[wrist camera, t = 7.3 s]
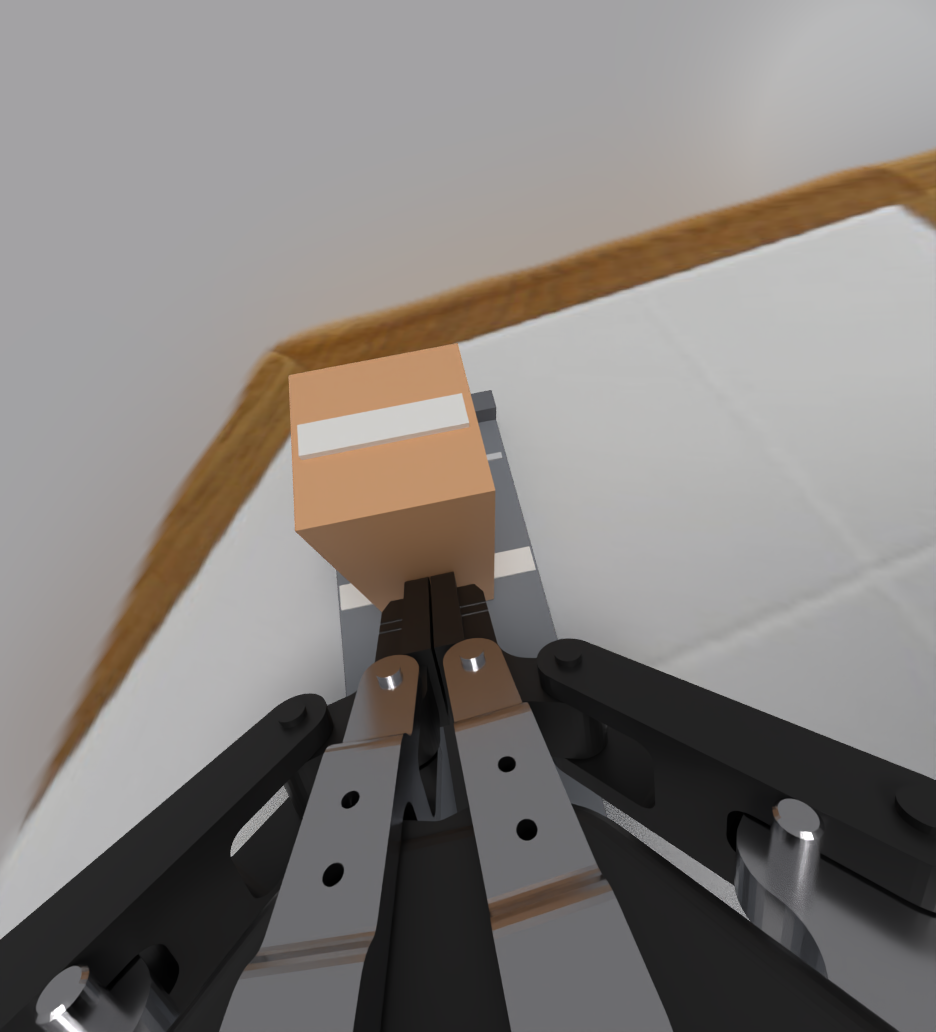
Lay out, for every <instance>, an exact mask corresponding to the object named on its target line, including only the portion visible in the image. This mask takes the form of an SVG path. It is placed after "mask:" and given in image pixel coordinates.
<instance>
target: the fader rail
mask: <svg viewBox="0 0 936 1032" xmlns="http://www.w3.org/2000/svg"><path fill="white" fill-rule="evenodd" d="M471 397H472V401H473V405H474V409H475V413H476V417H477V421H478V425H479V429H480V432H481V436H482V440H483V444H484V448H485V452H486V456H487V460H488V463H489V467H490V471H491V475H492V479H493V483H494V487H495V557H494V599H492V600H487V601H486V603H487V607H488V611H489V614H490V618H491V622H492V625H493V629H494V633H495V636H496V640H497V643H498V645H499V647H500V648H501V649H502V650H503V651H505V652H506V653H508V654H510V655H513V656H517V657H524V658H537V655H538V653H539V651H540V650H541V649H542V648H543V647H544V646H545V645H547V644H549V643H550V642H553V641H556V640H558V639H557V636H556V632H555V629H554V625H553V622H552V618H551V614H550V611H549V607H548V604H547V600H546V596H545V593H544V589H543V586H542V582H541V579H540V575H539V571H538V568H537V564H536V561H535V557H534V554H533V550H532V546H531V543H530V539H529V536H528V532H527V529H526V525H525V521H524V518H523V514H522V511H521V507H520V504H519V500H518V496H517V493H516V489H515V486H514V482H513V478H512V475H511V471H510V468H509V464H508V461H507V457H506V453H505V450H504V446H503V443H502V439H501V436H500V432H499V428H498V425H497V421H496V405H495V401H494V398H493V394H492V391H491V390H489V391H484V392H479V393H474V394H471ZM336 572H337V585H338V597H339V610H340V622H341V635H342V647H343V660H344V672H345V685H346V697H347V696H349V695H351V694H353V693H354V692H356V691H357V690H358V686H359V683H360V679H361V677H362V675H363V673H364V672H365V671H366V669H367V668H368V667H370V666H371V665H372V664H373V663H375V657H376V650H377V643H378V636H379V629H380V625H381V624H380V622H381V615H382V612H381V611H380V610H379V609H378V608H377V607H376V606H375V605H374V604H372V603H371V602H370V601H369V600H368V599H367V598H366V597H365V596H364V595H363V594H362V593H361V592H360V591H359V590H358V589H356V588H355V587H354V586H353V585H352V584H351V583H350V582H349V581H348V580H347V579H346V578H345V577H344V576H343V575H341V574H340V573H339V572H338V571H337V570H336ZM448 707H449V705H448ZM449 719H450V725H447V726H443V727H440V747H441V751H442V787H441V820H443V819H446V818H448V817H450V816H452V815H454V814H455V813H457V812H459V811H461V810H463V809H465V808H467V807H469V801H468V796H467V791H466V786H465V781H464V775H463V770H462V765H461V760H460V755H459V749H458V744H457V739H456V734H455V728H454V724H453V722H452V718H451V714H450V709H449ZM554 765H555V764H554ZM555 767H556V769H557V772H558V774H559V776H560V779H561V781H562V783H563V786H564V788H565V791H566V793H567V795H568V798H569V800H570V802H571V803H572V804H576V805H579V806H583V807H586V808H588V809H591V810H593V811H595V812H598V813H600V814H602V815H603V816H605V817H607V815H606V811H605V807H604V804H603V800H602V798H601V797H600V796H598V795H597V794H595V793H594V792H592V791H591V790H589V789H588V788H586V787H585V786H583V785H582V784H580V783H579V782H577V781H576V780H574V779H573V778H571V777H570V776H568V775H567V774H565V773H564V772H562V771H561V770H560V769H559V768H558V767H557V766H556V765H555Z"/></svg>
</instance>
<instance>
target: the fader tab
mask: <svg viewBox="0 0 936 1032" xmlns="http://www.w3.org/2000/svg"><path fill="white" fill-rule="evenodd" d="M289 395H290V419H291V444H292V468H293V493H294V517H295V531H296V532H297V533H298V534H299V535H300V536H301V537H302V538H303V539H304V540H305V541H306V542H307V543H308V544H309V545H311V546H312V547H313V548H314V549H315V550H316V551H317V552H318V553H319V554H320V555H321V556H322V557H323V558H324V559H325V560H327V561H328V562H329V563H330V564H331V565H332V566H333V567H334V568H335V569H336V570H337V571H338V572H339V573H340V574H341V575H343V576H344V577H345V578H346V579H347V580H348V581H349V582H350V583H351V584H352V585H353V586H354V587H355V588H356V589H358V590H359V591H360V592H361V593H362V594H363V595H364V596H365V597H366V598H367V599H368V600H369V601H370V602H371V603H372V604H374V605H375V606H376V607H377V608H378V609H379V610H380V611H381V612H383V610H384V609H385V608H386V606H387V605H388V604H389V602H390V601H394V600H399V599H403V598H404V583H405V582H406V581H411V580H416V579H421V578H425V577H429V580H430V583H431V578H430V577H431V576H435V575H439V574H444V573H449V572H454V574H455V579H456V584H457V587H460V586H465V585H470V584H475V585H476V586H478V587H479V588H480V589H481V590H483V592H484V596H485V600H486V601H487V600H492V599H494V557H495V487H494V483H493V479H492V475H491V471H490V467H489V463H488V460H487V456H486V452H485V448H484V444H483V440H482V436H481V432H480V429H479V425H478V421H477V417H476V413H475V409H474V405H473V401H472V397H471V394H470V390H469V386H468V382H467V378H466V374H465V370H464V366H463V363H462V359H461V355H460V351H459V347H458V343H456V344H451V345H446V346H441V347H435V348H430V349H425V350H420V351H414V352H409V353H404V354H398V355H393V356H388V357H383V358H377V359H372V360H367V361H362V362H356V363H351V364H346V365H341V366H335V367H330V368H325V369H320V370H314V371H309V372H304V373H298V374H293V375H289Z"/></svg>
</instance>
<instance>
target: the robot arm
mask: <svg viewBox="0 0 936 1032" xmlns="http://www.w3.org/2000/svg"><path fill="white" fill-rule="evenodd" d="M430 578H431V583H430V580H429V577H425V578H421V579H416V580H411V581H406V582H405V583H404V598H403V599H399V600H394V601H390V602H389V604H388V605H387V606H386V608H385V609H384V610H383V612H382V615H381V622H380V624H381V625H380V629H379V636H378V643H377V650H376V657H375V663H373V664H372V665H371V666H370V667H368V668H367V669H366V671H365V672H364V673H363V675H362V677H361V679H360V683H359V686H358V690H357V691H356V692H354V693H353V694H351V695H349V696H347V697H345V698H343V699H341V700H339V701H337V702H334V703H332V704H330V705H328V706H327V704H326V702H325V700H324V699H323V698H322V697H321V696H319V695H317V694H302V695H298V696H295V697H293V698H290V699H288V700H286V701H284V702H283V703H281V704H280V705H278V706H277V707H276V708H274V709H273V710H272V711H271V712H270V713H268V714H267V715H266V716H265V717H264V718H262V719H261V720H260V721H259V722H258V723H257V724H255V725H254V726H253V727H252V728H251V729H249V730H248V731H247V732H246V733H245V734H243V735H242V736H241V737H240V738H239V739H238V740H236V741H235V742H234V743H233V744H232V745H230V746H229V747H228V748H227V749H226V750H225V751H223V752H222V753H221V754H220V755H219V756H217V757H216V758H215V759H214V760H213V761H212V762H210V763H209V764H208V765H207V766H206V767H204V768H203V769H202V770H201V771H200V772H198V773H197V774H196V775H195V776H194V777H193V778H191V779H190V780H189V781H188V782H187V783H185V784H184V785H183V786H182V787H181V788H180V789H178V790H177V791H176V792H175V793H174V794H172V795H171V796H170V797H169V798H168V799H166V800H165V801H164V802H163V803H162V804H161V805H159V806H158V807H157V808H156V809H155V810H153V811H152V812H151V813H150V814H149V815H148V816H146V817H145V818H144V819H143V820H142V821H140V822H139V823H138V824H137V825H136V826H135V827H133V828H132V829H131V830H130V831H129V832H127V833H126V834H125V835H124V836H123V837H121V838H120V839H119V840H118V841H117V842H116V843H114V844H113V845H112V846H111V847H110V848H108V849H107V850H106V851H105V852H104V853H103V854H101V855H100V856H99V857H98V858H97V859H95V860H94V861H93V862H92V863H91V864H90V865H88V866H87V867H86V868H85V869H84V870H82V871H81V872H80V873H79V874H78V875H76V876H75V877H74V878H73V879H72V880H71V881H69V882H68V883H67V884H66V885H65V886H63V887H62V888H61V889H60V890H59V891H58V892H56V893H55V894H54V895H53V896H52V897H50V898H49V899H48V900H47V901H46V902H44V903H43V904H42V905H41V906H40V907H39V908H37V909H36V910H35V911H34V912H33V913H31V914H30V915H29V916H28V917H27V918H26V919H24V920H23V921H22V922H21V923H20V924H18V925H17V926H16V927H15V928H14V929H13V930H11V931H10V932H9V933H8V934H7V935H5V936H4V937H3V938H2V939H1V940H0V1032H936V780H934V779H931V778H929V777H927V776H924V775H922V774H919V773H917V772H914V771H912V770H909V769H907V768H904V767H901V766H899V765H896V764H894V763H891V762H889V761H886V760H884V759H881V758H879V757H876V756H874V755H871V754H869V753H866V752H864V751H861V750H858V749H856V748H853V747H851V746H848V745H846V744H843V743H841V742H838V741H836V740H833V739H831V738H828V737H826V736H823V735H821V734H818V733H815V732H813V731H810V730H808V729H805V728H803V727H800V726H798V725H795V724H793V723H790V722H788V721H785V720H783V719H780V718H778V717H775V716H773V715H770V714H767V713H765V712H762V711H760V710H757V709H755V708H752V707H750V706H747V705H745V704H742V703H740V702H737V701H735V700H732V699H730V698H727V697H724V696H722V695H719V694H717V693H714V692H712V691H709V690H707V689H704V688H702V687H699V686H697V685H694V684H692V683H689V682H687V681H684V680H681V679H679V678H676V677H674V676H671V675H669V674H666V673H664V672H661V671H659V670H656V669H654V668H651V667H649V666H646V665H644V664H641V663H638V662H636V661H633V660H631V659H628V658H626V657H623V656H621V655H618V654H616V653H613V652H611V651H608V650H606V649H603V648H601V647H598V646H596V645H593V644H590V643H588V642H585V641H582V640H578V639H560V640H556V641H553V642H550V643H549V644H547V645H545V646H544V647H543V648H542V649H541V650H540V651H539V653H538V655H537V658H524V657H517V656H513V655H510V654H508V653H506V652H505V651H503V650H502V649H501V648H500V647H499V645H498V643H497V640H496V636H495V633H494V629H493V625H492V622H491V618H490V614H489V611H488V607H487V603H486V600H485V596H484V592H483V590H481V589H480V588H479V587H478V586H476V585H475V584H470V585H465V586H460V587H457V584H456V579H455V574H454V572H449V573H444V574H439V575H435V576H431V577H430ZM448 705H449V707H448ZM449 709H450V714H451V718H452V722H453V724H454V728H455V734H456V739H457V744H458V749H459V755H460V760H461V765H462V770H463V775H464V781H465V786H466V791H467V796H468V801H469V807H467V808H465V809H463V810H461V811H459V812H457V813H455V814H454V815H452V816H450V817H448V818H446V819H443V820H441V787H442V751H441V747H440V727H443V726H447V725H450V719H449ZM554 764H555V765H556V766H557V767H558V768H559V769H560V770H561V771H562V772H564V773H565V774H567V775H568V776H570V777H571V778H573V779H574V780H576V781H577V782H579V783H580V784H582V785H583V786H585V787H586V788H588V789H589V790H591V791H592V792H594V793H595V794H597V795H598V796H600V797H601V798H603V799H604V800H606V801H607V802H609V803H610V804H612V805H613V806H615V807H616V808H618V809H620V810H621V811H623V812H624V813H626V814H627V815H629V816H630V817H632V818H633V819H635V820H636V821H638V822H639V823H641V824H642V825H644V826H645V827H647V828H648V829H650V830H651V831H653V832H654V833H656V834H657V835H659V836H660V837H662V838H663V839H665V840H666V841H668V842H669V843H671V844H672V845H674V846H675V847H677V848H678V849H680V850H681V851H683V852H684V853H686V854H687V855H689V856H690V857H692V858H693V859H695V860H696V861H698V862H699V863H701V864H702V865H704V866H705V867H707V868H708V869H710V870H711V871H713V872H714V873H716V874H717V875H719V876H720V877H722V878H723V879H725V880H726V881H728V882H729V883H731V884H732V885H734V886H735V891H736V895H737V898H738V901H739V903H740V905H741V907H742V909H743V911H744V912H745V914H746V916H747V917H748V918H749V920H750V921H751V922H750V921H749V920H747V919H746V918H745V917H743V916H742V915H741V914H739V913H738V912H737V911H735V910H734V909H732V908H731V907H730V906H728V905H727V904H726V903H724V902H723V901H722V900H720V899H719V898H718V897H716V896H715V895H713V894H712V893H711V892H709V891H708V890H707V889H705V888H704V887H703V886H701V885H700V884H699V883H697V882H696V881H694V880H693V879H692V878H690V877H689V876H688V875H686V874H685V873H684V872H682V871H681V870H680V869H678V868H677V867H675V866H674V865H673V864H671V863H670V862H669V861H667V860H666V859H665V858H663V857H662V856H660V855H659V854H658V853H656V852H655V851H654V850H652V849H651V848H650V847H648V846H647V845H646V844H644V843H643V842H641V841H640V840H639V839H637V838H636V837H635V836H633V835H632V834H631V833H629V832H628V831H627V830H625V829H624V828H622V827H621V826H620V825H618V824H617V823H615V822H614V821H612V820H610V819H609V818H607V817H605V816H603V815H602V814H600V813H598V812H595V811H593V810H591V809H588V808H586V807H583V806H579V805H576V804H572V803H571V802H570V800H569V798H568V795H567V793H566V791H565V788H564V786H563V783H562V781H561V779H560V776H559V774H558V772H557V769H556V767H555V765H554ZM283 785H284V787H285V789H286V791H287V793H288V796H289V797H288V799H287V800H286V801H285V802H284V803H283V804H282V805H281V806H280V807H279V808H278V809H277V810H276V811H275V812H274V813H273V814H272V815H271V816H270V817H269V819H268V820H267V821H266V822H265V823H264V824H263V825H262V826H261V827H260V828H259V829H258V830H257V831H256V832H255V833H254V834H253V835H252V836H251V837H250V839H249V840H248V841H247V842H246V843H245V844H244V845H243V846H242V847H241V848H240V849H239V850H238V851H237V852H236V853H235V854H234V855H233V856H232V857H231V856H230V850H231V846H232V843H233V840H234V838H235V837H236V835H237V833H238V832H239V831H240V829H241V828H242V827H243V826H244V825H245V824H246V823H247V822H248V821H249V820H250V819H251V818H252V817H253V816H254V815H255V814H256V813H257V812H258V811H259V810H260V809H261V808H262V807H263V806H264V805H265V804H266V803H267V802H268V801H269V800H270V799H271V798H272V796H273V795H274V794H275V793H276V792H277V791H278V790H279V789H280V788H281V787H282V786H283Z"/></svg>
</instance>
